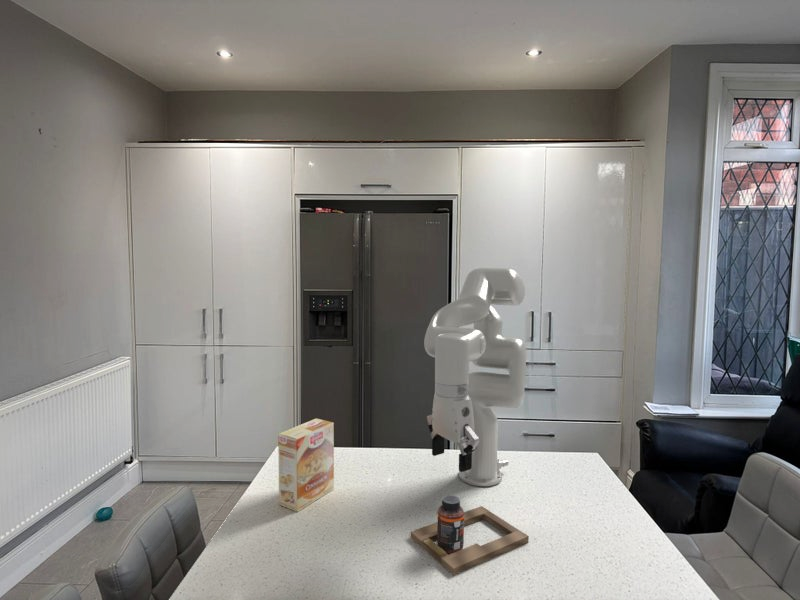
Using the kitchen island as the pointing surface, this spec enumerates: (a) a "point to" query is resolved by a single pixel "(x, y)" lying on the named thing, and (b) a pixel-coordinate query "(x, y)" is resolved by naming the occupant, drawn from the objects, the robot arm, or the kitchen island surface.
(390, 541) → the kitchen island surface
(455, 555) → the wooden frame
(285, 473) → the coffeecake box
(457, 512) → the supplement bottle
